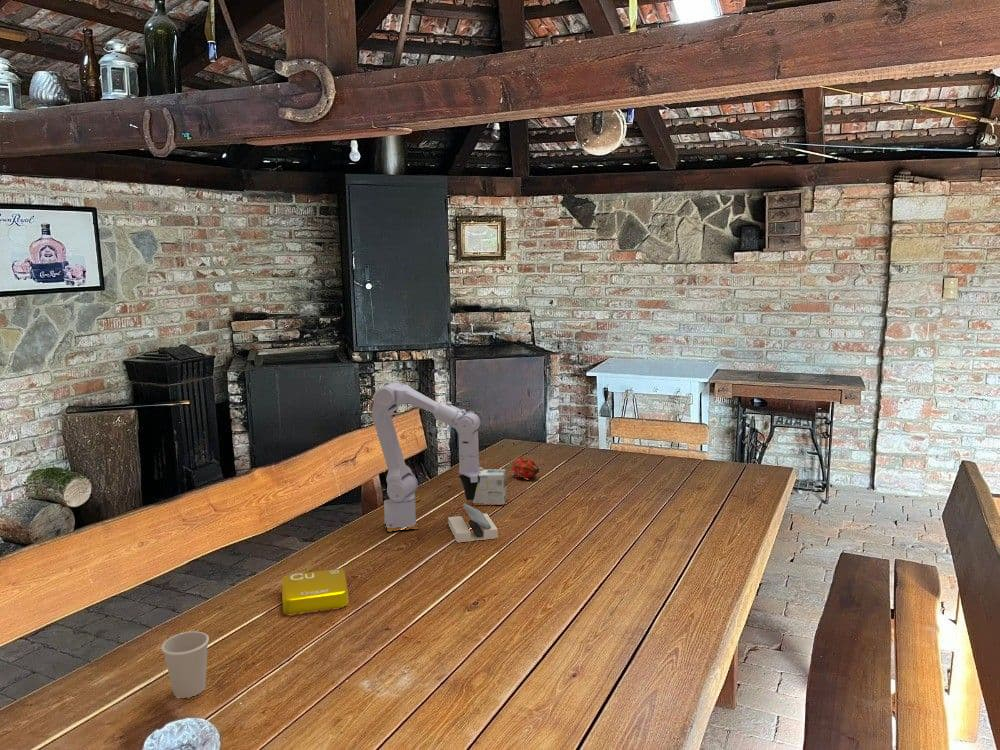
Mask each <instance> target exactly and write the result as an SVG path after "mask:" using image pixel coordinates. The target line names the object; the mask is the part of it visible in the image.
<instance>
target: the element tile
mask: <svg viewBox="0 0 1000 750" xmlns="http://www.w3.org/2000/svg"><path fill="white" fill-rule="evenodd" d="M346 577H347V576H346V572H345V570H344V569H343V568H333V569H332V568H331V569H324V570H317V571H309V572H299V573H294V574H293V573H291V574H287V575H285V576H284V577H283V578H282V584H281V585H282V589H281V590H282V591H281V595H282V596H281V597H282V598H281V602H282V613H283V612H284V613H286V614H294V613H300V612H307V611H315V610H325V609H333V608H341V607H344V606H346V605H347V604H348V603H349V589H348V588H349V587H348V583H347V578H346ZM348 605H349V604H348Z"/></svg>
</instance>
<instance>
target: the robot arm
mask: <svg viewBox="0 0 1000 750" xmlns="http://www.w3.org/2000/svg"><path fill="white" fill-rule="evenodd" d="M372 400H373V404H372V409H371V410H372V411H371V418H372V421H373V424H374V427H375V430H376V433H377V437H378V440H379V443H380V447H381V451H382V454H383V457H384V460H385V464H386V468H387V470H388V471H387V474H386V478H385V481H386V484H387V486H386V487H387V488H386V494H387V496H388V497H389V499H385V500H384V501H383V506H384V507H383V508H384V509H383V510H384V513H383V514H384V518H383V520H384V521H383V523H384V525H385V524H386V526H385V528H386V527H387V528H396V527H401V528H402V527H411V526H413V525H415V524H416V522H417V520H416V519H417V517H416V495H415V491H417V489H418V486H419V484H418V483H419V482H418V479H417V478H416V476H415V474H413V472H412V469H411V468H410V466H408V465H406V462H405V458H404V455H403V452H402V447H401V445H400V442H399V438H398V435H397V432H396V429H395V425H394V421H393V418H392V414H393V412H394V411H395V409H396V408H397V406H398V405H399V406H400V405H405V404H411V405H413V406H415V407H418V408H420V409H421V410H425V411H427V412H430V413H432V414H433V416H434V419H435V420H437V421H439V422H441V423H443V424H446V425H447V426H449V427H450V428H453V429H455V431H456V433H458V459H459V460H458V461H459V462H458V463H459V466H458V467H459V468H458V472H459V475H458V478H459V479H460V481H461V484H462V487H463V491H464V496H465V499H466V501H473V500H474V497H475V492H476V488H477V485H478V482H479V481H480V477H479V475H478V474H479V472H480V471H483V470H484V468H483V466H480V456H479V455H480V451H479V450H480V449H479V430H478V429H479V428H480V426H481V418H480V417H479V415H478V414H476V412H475V411H466V409H463V408H462V409H461V408H459V407H457V406H454V405H453V403H452V402H451V401H449V400H448V401H440V402H437V401H436V400H433V399H432V398H430V397H428V396H426V395H425V394H423V393H421V392H420V391H417V390H416V389H414V388H412V387H411V386H409V385H407V384H403V382H400V381H392V382H391V383H389V384H386V385H384V386H380V387H379V388H377V390H376V391H375V393H374V394H373V396H372ZM390 524H392V526H390Z"/></svg>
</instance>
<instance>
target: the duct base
mask: <svg viewBox="0 0 1000 750" xmlns="http://www.w3.org/2000/svg"><path fill="white" fill-rule="evenodd" d="M482 514H483V515H484V517H485V518H486V520H487V521H488V523H489V524H490V526H491V528H490V529H489V528H487V527H485V526H483V525H481V524H479V523H477V522H476V524H477V525H478V527H479V528H480V530H481V531H482V533H483V534H482V536H481V537H477V536H476V535H475V533H473V534H471V533H472V532H470V530H469V529H468V527H467V525H466V523H467V522H465V520H464V518H463V517H462V515H458V516H457V515H456V516H448V518H447V519H448V520H447V523H448V524H449V526H448V528H449V527H450V529H451V531H452V533H453V535H454V537H455V539H456V541H457V542H466V541H474V540H486V539H494V538H498V539H499V530H498V527H497V526H496V525H495V523H494V521H493V520H492V519H491V518H490V516H489V515H488V513H482ZM450 529H449V530H450ZM451 531H450V532H451ZM473 532H474V531H473ZM452 533H451V534H452ZM453 535H452V536H453ZM454 537H453V538H454ZM455 539H454V540H455ZM456 541H455V542H456ZM486 541H487V540H486Z"/></svg>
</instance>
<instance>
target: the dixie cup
mask: <svg viewBox="0 0 1000 750" xmlns="http://www.w3.org/2000/svg"><path fill="white" fill-rule="evenodd" d="M209 642H210V638H209V635H208V634H207V633H205V632H202V631H193V630H191V631H185V632H182V633H177V634H174V635H173V636H171V637H169V638H167V639H166V640H165V641H164V642H163V643H162V644H161V648H160V649H161V651H162V653H163V656H164V661H165V663H166V669H167V671H168V672H167V673H168V676H169V680H170V684H171V688H172V692H173V695H175V696H177V697H180V698H185V697H192V696H195V695H197V694H199V693H201V692H202V691H203V690H204V689H205V690H206V688H207V687H206V685H207V684H206V683H207V663H208V643H209ZM205 687H206V688H205ZM205 690H204V691H205ZM204 691H203V692H204ZM203 692H202V693H203ZM202 693H201V694H202ZM199 695H200V694H199ZM175 696H174V697H175ZM195 697H196V696H195ZM192 698H193V697H192Z"/></svg>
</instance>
